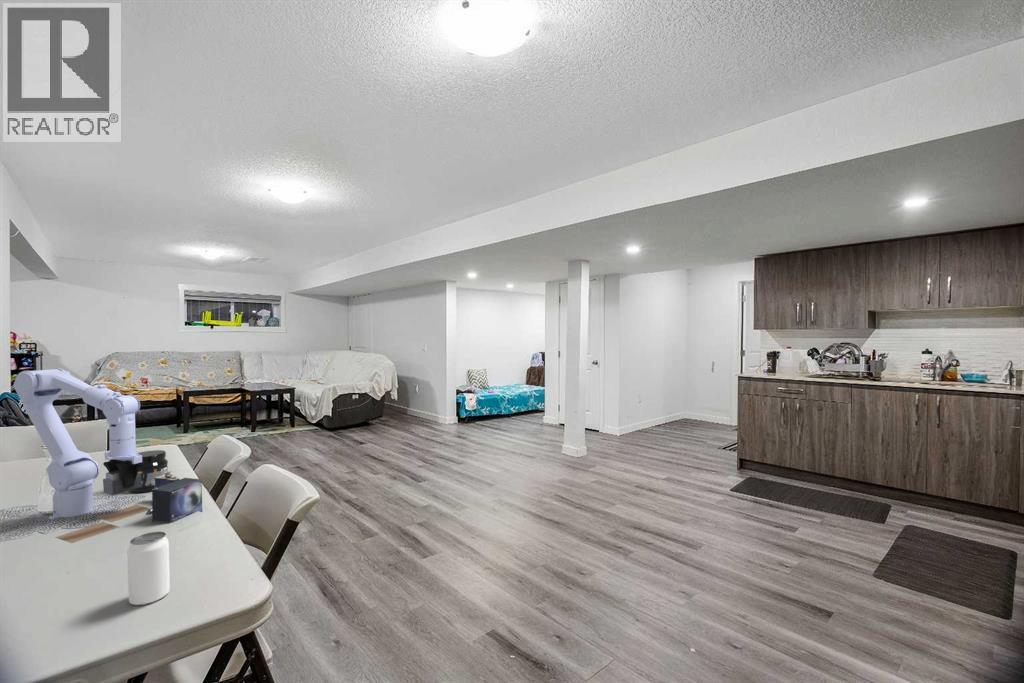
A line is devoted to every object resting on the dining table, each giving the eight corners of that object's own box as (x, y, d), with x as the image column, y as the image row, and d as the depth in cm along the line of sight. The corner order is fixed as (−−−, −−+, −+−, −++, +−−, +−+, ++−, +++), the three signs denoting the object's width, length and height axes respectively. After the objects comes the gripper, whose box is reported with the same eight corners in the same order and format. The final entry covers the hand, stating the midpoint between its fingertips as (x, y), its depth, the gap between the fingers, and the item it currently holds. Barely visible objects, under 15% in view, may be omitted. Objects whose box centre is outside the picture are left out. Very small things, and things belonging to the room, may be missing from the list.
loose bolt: (145, 520, 130) (145, 510, 130) (153, 516, 133) (153, 507, 133) (166, 520, 130) (165, 511, 130) (173, 516, 133) (173, 507, 133)
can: (144, 588, 95) (142, 531, 95) (177, 587, 96) (175, 529, 95) (120, 607, 89) (118, 545, 88) (155, 605, 89) (154, 544, 89)
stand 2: (95, 522, 129) (95, 517, 129) (136, 509, 138) (136, 504, 138) (111, 527, 126) (111, 521, 126) (152, 513, 135) (152, 508, 135)
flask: (153, 506, 141) (152, 471, 141) (163, 503, 144) (162, 468, 143) (174, 510, 138) (173, 474, 138) (184, 506, 141) (183, 471, 140)
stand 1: (55, 543, 116) (55, 537, 116) (103, 527, 126) (103, 522, 126) (72, 548, 113) (71, 542, 113) (120, 532, 122) (120, 526, 122)
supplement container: (128, 488, 158) (127, 453, 157) (166, 481, 165) (165, 448, 164) (130, 496, 150) (129, 459, 149) (170, 488, 157) (169, 453, 157)
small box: (170, 529, 124) (169, 490, 124) (150, 527, 125) (149, 489, 125) (204, 514, 135) (203, 478, 134) (185, 512, 136) (184, 477, 136)
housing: (103, 493, 129) (102, 473, 129) (132, 484, 136) (131, 465, 135) (112, 495, 127) (111, 475, 127) (141, 486, 134) (140, 467, 134)
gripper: (91, 439, 131) (92, 486, 131) (120, 443, 125) (122, 493, 125) (120, 434, 137) (121, 479, 137) (149, 438, 131) (151, 485, 132)
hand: (123, 485), depth 132 cm, fingers closed on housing, 4 cm apart
